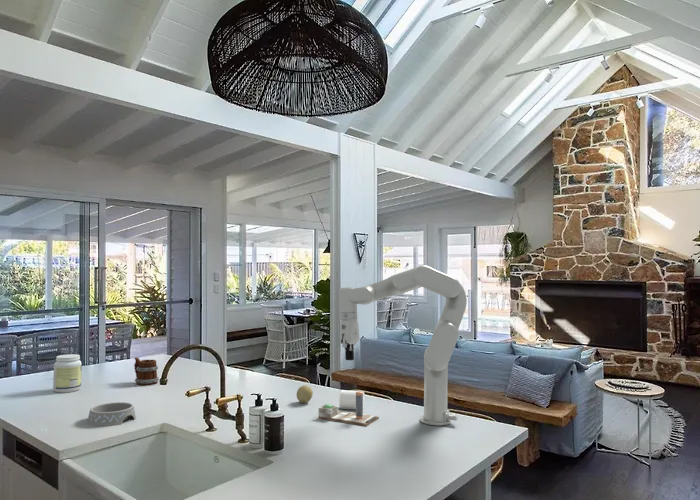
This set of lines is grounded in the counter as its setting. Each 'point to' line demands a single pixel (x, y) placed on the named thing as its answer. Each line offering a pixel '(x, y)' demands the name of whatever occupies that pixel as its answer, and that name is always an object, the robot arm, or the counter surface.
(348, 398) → the mug
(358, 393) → the cylinder
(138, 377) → the mug
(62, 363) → the supplement tub
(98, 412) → the dog bowl
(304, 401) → the potato
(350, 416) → the cream tray
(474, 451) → the counter surface
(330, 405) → the button
